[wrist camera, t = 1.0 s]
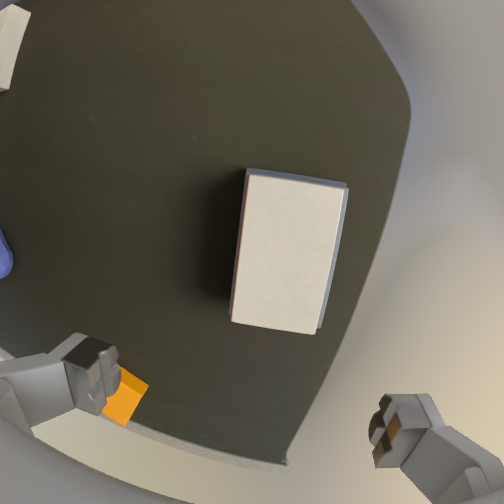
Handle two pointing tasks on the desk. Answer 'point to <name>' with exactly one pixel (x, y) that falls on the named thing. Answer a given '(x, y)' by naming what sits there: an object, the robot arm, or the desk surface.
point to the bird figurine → (5, 257)
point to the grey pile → (339, 230)
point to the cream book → (284, 253)
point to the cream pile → (10, 40)
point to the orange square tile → (125, 398)
